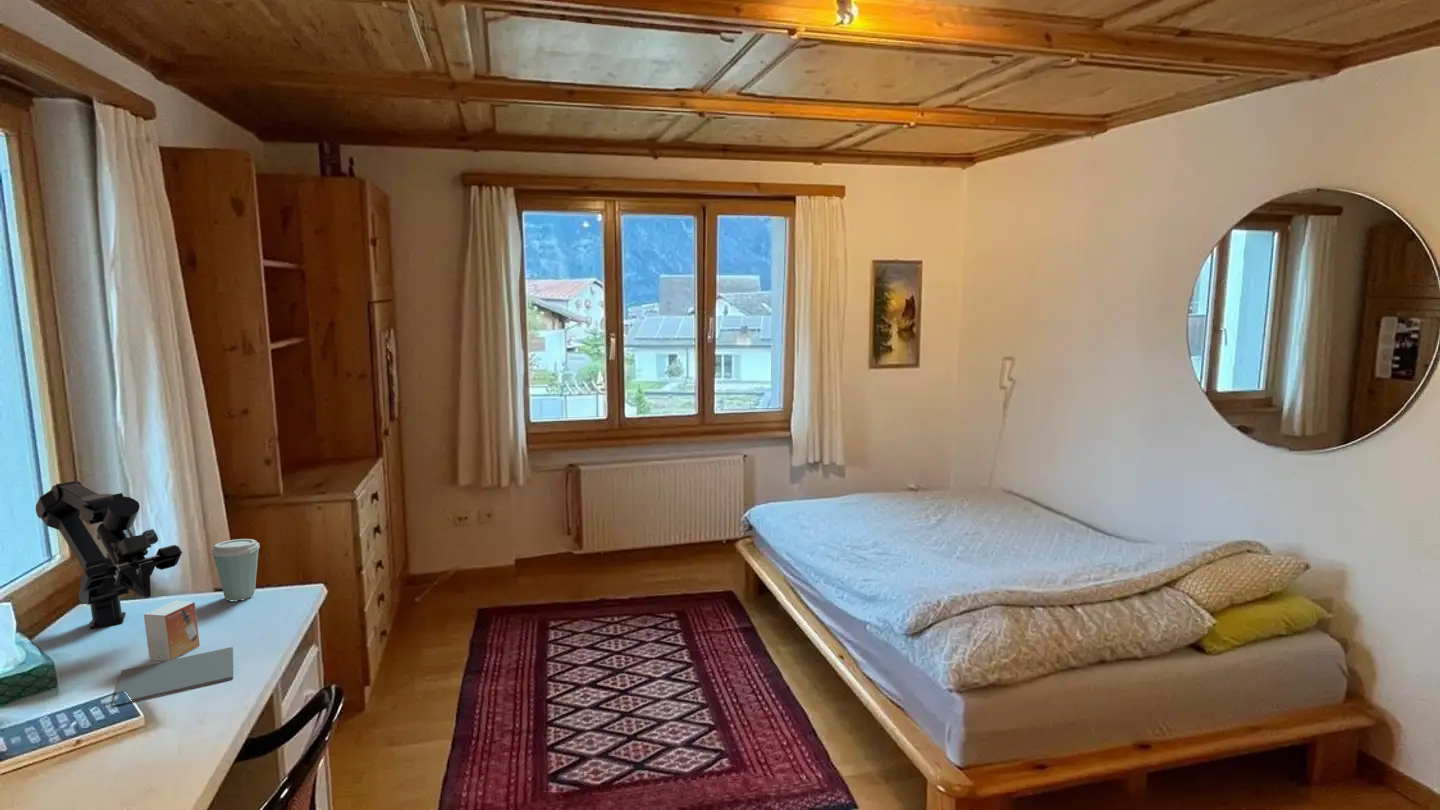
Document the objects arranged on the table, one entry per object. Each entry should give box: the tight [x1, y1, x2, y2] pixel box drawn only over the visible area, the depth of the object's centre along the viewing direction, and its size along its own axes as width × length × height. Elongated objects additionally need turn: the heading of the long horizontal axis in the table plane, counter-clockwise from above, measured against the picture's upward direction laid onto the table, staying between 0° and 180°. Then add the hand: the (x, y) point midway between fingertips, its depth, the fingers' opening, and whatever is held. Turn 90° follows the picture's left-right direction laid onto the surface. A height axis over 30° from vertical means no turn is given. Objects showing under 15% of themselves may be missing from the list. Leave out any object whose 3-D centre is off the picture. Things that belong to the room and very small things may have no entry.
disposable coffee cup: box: [211, 538, 261, 602], centre depth 209 cm, size 11×11×15 cm
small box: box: [143, 600, 201, 662], centre depth 178 cm, size 8×6×10 cm
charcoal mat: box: [115, 646, 234, 703], centre depth 168 cm, size 16×20×1 cm
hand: (148, 596), depth 182 cm, fingers closed
